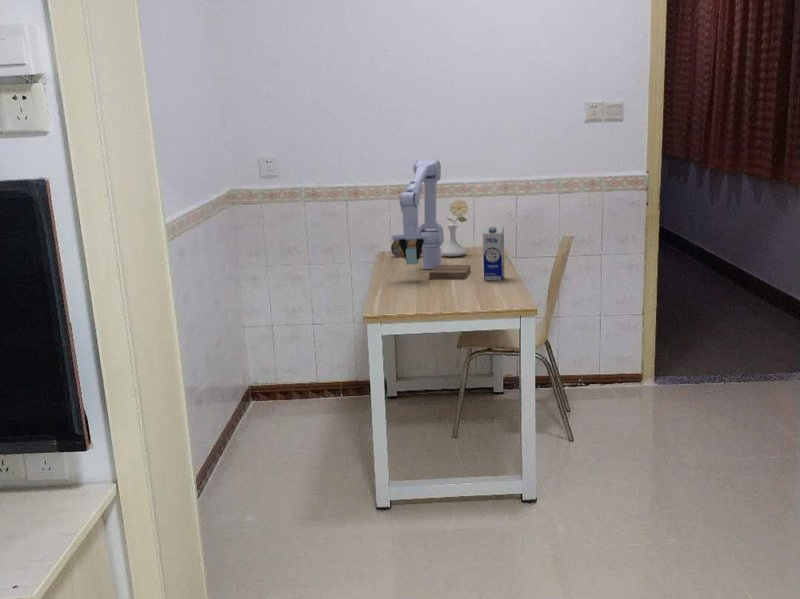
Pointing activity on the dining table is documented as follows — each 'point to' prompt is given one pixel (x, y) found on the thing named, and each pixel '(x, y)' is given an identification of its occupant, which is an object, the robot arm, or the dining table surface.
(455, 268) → the walnut base
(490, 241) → the milk carton
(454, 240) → the flower in vase
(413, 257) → the teal block
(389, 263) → the dining table surface
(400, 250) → the tin
